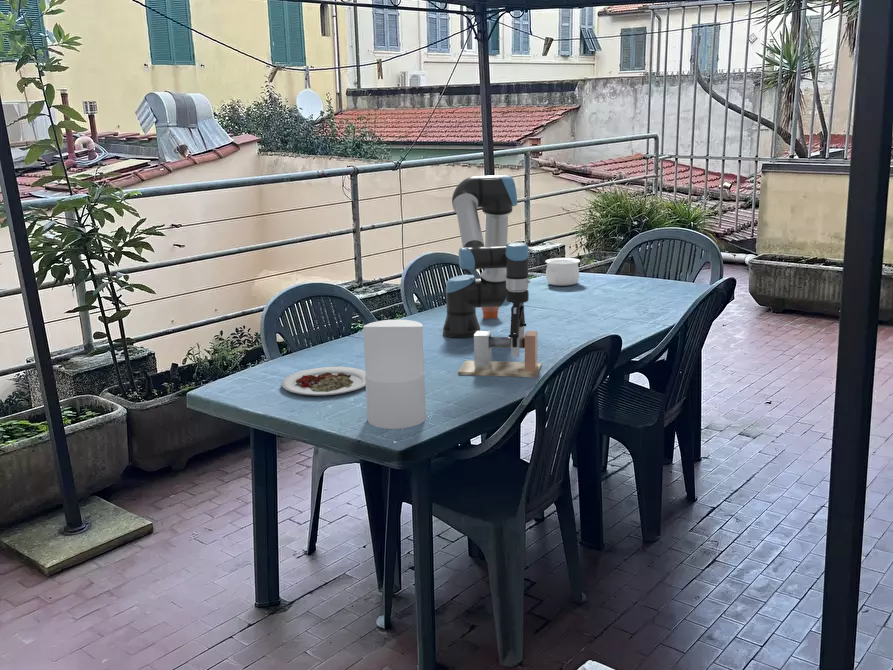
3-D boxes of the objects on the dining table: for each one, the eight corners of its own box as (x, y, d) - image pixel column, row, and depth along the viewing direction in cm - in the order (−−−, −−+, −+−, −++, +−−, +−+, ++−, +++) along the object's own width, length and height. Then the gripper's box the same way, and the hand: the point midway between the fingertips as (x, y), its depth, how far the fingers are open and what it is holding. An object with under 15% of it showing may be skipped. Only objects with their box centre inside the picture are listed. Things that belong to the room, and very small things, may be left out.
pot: (565, 290, 428) (565, 265, 425) (536, 286, 439) (536, 262, 436) (588, 282, 445) (588, 259, 442) (559, 279, 455) (559, 256, 452)
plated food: (380, 393, 281) (380, 383, 280) (287, 404, 273) (286, 394, 272) (362, 368, 309) (362, 359, 308) (277, 377, 301) (276, 368, 300)
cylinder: (373, 408, 266) (368, 319, 259) (429, 408, 264) (425, 319, 257) (362, 428, 249) (357, 334, 242) (422, 429, 248) (418, 334, 241)
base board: (458, 374, 297) (458, 371, 297) (465, 362, 311) (465, 360, 310) (536, 377, 292) (536, 374, 291) (541, 365, 305) (541, 362, 305)
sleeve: (474, 368, 300) (473, 335, 297) (477, 363, 305) (476, 330, 302) (488, 369, 299) (488, 335, 296) (491, 364, 304) (491, 331, 301)
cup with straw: (490, 320, 371) (489, 279, 366) (475, 317, 378) (474, 276, 373) (505, 317, 377) (504, 276, 372) (490, 313, 383) (490, 273, 379)
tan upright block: (524, 371, 296) (524, 335, 293) (527, 365, 302) (527, 330, 299) (535, 371, 295) (535, 336, 292) (537, 365, 301) (537, 331, 298)
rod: (480, 348, 299) (480, 337, 298) (482, 345, 302) (482, 335, 301) (532, 349, 295) (532, 339, 294) (533, 346, 298) (533, 336, 297)
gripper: (523, 297, 280) (524, 361, 285) (532, 282, 304) (532, 341, 309) (500, 297, 282) (501, 360, 287) (511, 282, 305) (511, 340, 311)
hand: (517, 350), depth 298 cm, fingers open, 13 cm apart
